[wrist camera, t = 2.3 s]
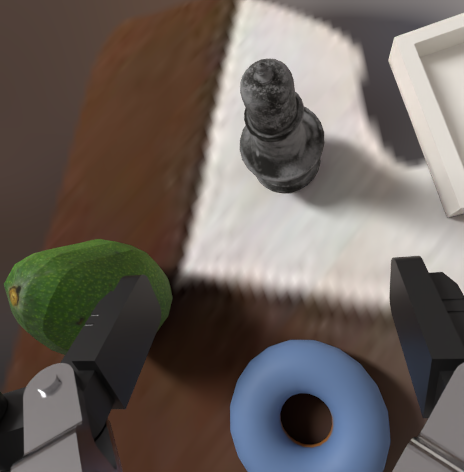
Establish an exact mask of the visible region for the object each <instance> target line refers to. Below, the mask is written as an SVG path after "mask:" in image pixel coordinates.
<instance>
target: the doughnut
mask: <svg viewBox="0 0 464 472" xmlns="http://www.w3.org/2000/svg"><path fill="white" fill-rule="evenodd" d="M299 393H307V394H311V395H314V396H316V397H318V398H319V399H321V400H322V401H323V402H325V404H326V405H327V406H328V408H329V410H330V413H331V415H332V427H331V431H330V433H329V435H328V436H327V438H325V439H324V440H323V441H321V442H320V443H317V444H313V445H308V444H302V443H299V442H297V441H295V440H294V439H293V438H291V437H290V436H289V435H288V434H287V432H286V431H285V429H284V428H283V425H282V422H281V416H280V413H281V409H282V406H283V404H284V403H285V401H286V400H287V399H288V398H290V397H291V396H292V395H295V394H299ZM230 431H231V434H232V438H233V441H234V444H235V448H236V451H237V455H238V457H239V459H240V460H241V462H242V463H243V465H244V467H245V468H246V470H247V471H248V472H383V470H384V468H385V464H386V460H387V455H388V451H389V447H390V443H391V440H390V428H389V417H388V410H387V408H386V405H385V403H384V401H383V398H382V396H381V393H380V391H379V388H378V386H377V384H376V383H375V382H374V381H373V379H372V378H371V377H370V375H369V374H368V373H367V372H366V370H365V369H364V368H363V367H362V365H361V364H360V363H359V362H357V361H356V360H354V359H353V358H351V357H350V356H349V355H347V354H346V353H344V352H343V351H342V350H340V349H339V348H336V347H333V346H330V345H327V344H324V343H321V342H318V341H315V340H288V341H285V342H282V343H279V344H276V345H273V346H270V347H268V348H267V349H265V350H264V351H263V352H261V353H260V354H259V355H257V356H256V357H255V358H253V359H252V360H251V361H250V362H249V364H248V365H247V367H246V368H245V370H244V371H243V373H242V374H241V376H240V377H239V379H238V380H237V383H236V387H235V390H234V394H233V397H232V401H231V404H230Z"/></svg>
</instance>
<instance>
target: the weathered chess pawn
mask: <svg viewBox="0 0 464 472" xmlns="http://www.w3.org/2000/svg"><path fill="white" fill-rule="evenodd" d="M240 93H241V96H242V100H243V102H244V105H245V107H246V109H245V112H244V120H245V124H246V126H245V127H244V129H243V132H242V135H241V138H240V152H241V156H242V160H243V161H244V163H245V165H246V166H247V168H248V169H249V170H250V171H251V172H252V173H253V174H254V175H256V177H257V179H258V180H259V182H260V183H261V184H262V185H263V186H265V187H266V188H268V189H270V190H272V191H275V192H279V193H290V192H294V191H297V190H300V189H301V188H303V187H305V186H306V185H308V184H309V183H310V182H311V181H312V180H313V179H314V177H315V175H316V174H317V172H318V169H319V165H320V156H321V154H322V150H323V146H324V131H323V128H322V125H321V122H320V121H319V119H318V118H317V116H316V115H315V114H314V113H313V112H311V111H310V110H309V109H308V108H306V107H304V105H303V102H302V99H301V98H300V96H299V95H298V93H296V92H295V88H294V81H293V77H292V74H291V72H290V70H289V69H288V67H287V66H286V65H285V64H284V63H282V62H281V61H278V60H276V59H262V60H259V61H257V62H255V63H254V64H252V65H251V66H250V67H249V68H248V69H247V70H246V71H245V73H244V75H243V76H242V79H241V83H240Z"/></svg>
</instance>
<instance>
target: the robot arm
mask: <svg viewBox="0 0 464 472" xmlns="http://www.w3.org/2000/svg"><path fill="white" fill-rule="evenodd" d="M390 306H391V312H392V316H393V320H394V323H395V326H396V330H397V333H398V336H399V340H400V343H401V346H402V350H403V353H404V356H405V360H406V363H407V366H408V370H409V373H410V376H411V380H412V383H413V386H414V390H415V393H416V396H417V400H418V403H419V406H420V410H421V413H422V416H423V418H429V419H428V420H427V422H426V424H425V426H424V428H423V429H422V431H421V433H420V434H419V436H418V437H417V438H416V437H414V438H412V439H411V441H410V442H409V443H408V445H407V446H406V448H405V450H404V451H403V453H402V455H401V457H400V459H399V460H398V462H397V464H396V466H395V468H394V469H393V471H392V472H464V295H463V293H462V292H461V290H460V288H459V286H458V284H457V283H455V282H454V281H453V280H452V279H450V278H449V277H448V276H447V275H445V274H444V273H443V272H436V273H429V272H428V270H427V268H426V266H425V264H424V262H423V260H422V258H421V257H420V256H411V257H397V258H392V260H391V277H390ZM160 321H161V308H160V304H159V302H158V300H157V297H156V295H155V293H154V291H153V288H152V286H151V284H150V281H149V279H148V277H147V276H146V275H131V276H123V277H122V278H121V279H120V281H119V282H118V284H117V286H116V287H115V289H114V291H110V292H109V293H108V294H107V295H106V296H105V297H103V298H102V299H101V300H100V301H99V302H98V304H97V305H96V307H95V308H94V310H93V312H92V313H91V316H89V318H88V320H87V321H86V323H85V326H83V328H82V329H81V331H80V332H79V334H78V336H77V337H76V339H75V340H74V342H73V344H72V345H71V347H70V348H69V350H68V352H67V353H66V355H65V356H64V358H63V360H62V361H61V363H58V364H54V365H51V366H49V367H47V368H45V369H43V370H42V371H41V372H39V373H38V374H37V375H36V376H35V377H34V378H33V379H32V380H31V381H30V382H29V384H28V385H27V387H25V388H21V389H18V390H15V391H11V392H8V393H5V394H2V393H1V392H0V472H123V470H122V466H121V462H120V458H119V455H118V451H117V447H116V443H115V439H114V435H113V431H112V427H111V423H110V421H109V419H108V415H109V413H110V411H111V409H126V407H127V404H128V402H129V399H130V397H131V394H132V392H133V389H134V387H135V384H136V382H137V379H138V377H139V374H140V372H141V369H142V367H143V364H144V362H145V360H146V357H147V355H148V352H149V350H150V347H151V345H152V342H153V340H154V337H155V335H156V332H157V330H158V327H159V325H160Z"/></svg>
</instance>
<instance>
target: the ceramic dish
mask: <svg viewBox="0 0 464 472" xmlns="http://www.w3.org/2000/svg"><path fill="white" fill-rule="evenodd" d="M388 61H389V63H390V66H391V69H392V71H393V74H394V76H395V79H396V82H397V85H398V87H399V90H400V93H401V95H402V98H403V101H404V103H405V106H406V109H407V111H408V114H409V117H410V119H411V122H412V125H413V127H414V130H415V133H416V135H417V138H418V141H419V143H420V146H421V149H422V151H423V154H424V157H425V159H426V162H427V165H428V168H429V170H430V173H431V176H432V178H433V181H434V184H435V186H436V189H437V192H438V194H439V197H440V200H441V202H442V205H443V208H444V210H445V213H446V216H447V218H448V217H452V216H456V215H460V214H464V13H462V14H460V15H457V16H454V17H451V18H448V19H445V20H442V21H439V22H437V23H434V24H431V25H428V26H425V27H422V28H420V29H417V30H414V31H411V32H408V33H406V34H403V35H400V36H397V37H395V38H394V41H393V45H392V49H391V53H390V56H389V60H388Z"/></svg>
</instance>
